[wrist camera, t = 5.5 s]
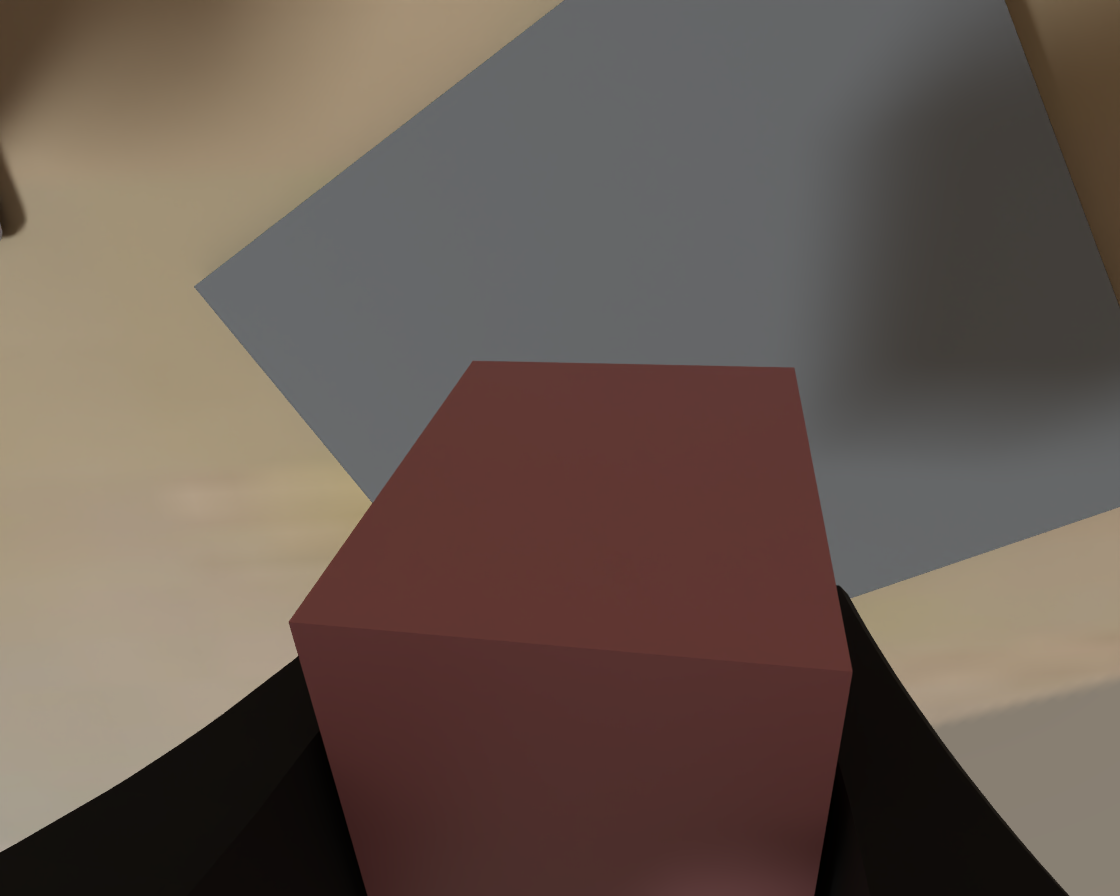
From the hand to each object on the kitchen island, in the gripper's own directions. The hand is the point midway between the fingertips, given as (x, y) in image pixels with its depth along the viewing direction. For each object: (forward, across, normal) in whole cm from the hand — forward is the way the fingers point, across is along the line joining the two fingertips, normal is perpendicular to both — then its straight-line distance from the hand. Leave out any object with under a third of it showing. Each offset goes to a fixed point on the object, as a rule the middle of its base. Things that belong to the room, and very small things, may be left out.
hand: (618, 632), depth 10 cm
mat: (+8, 0, 0) cm, 8 cm away
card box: (+2, 0, 0) cm, 2 cm away
